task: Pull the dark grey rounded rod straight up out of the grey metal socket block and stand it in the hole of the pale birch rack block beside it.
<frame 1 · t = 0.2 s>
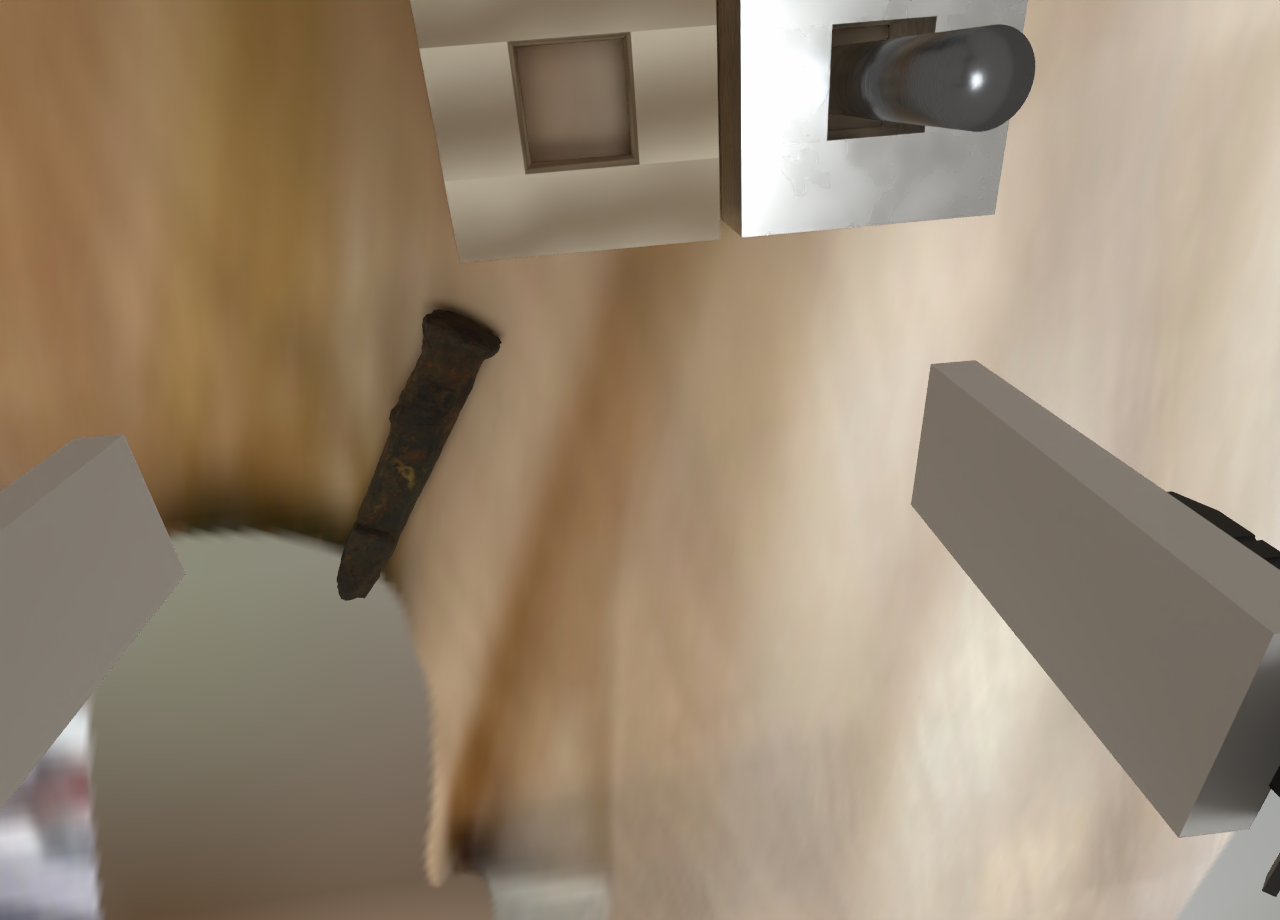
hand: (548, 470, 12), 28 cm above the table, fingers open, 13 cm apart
bit rack: (575, 102, 34), on the table
socket block: (841, 80, 35), on the table
dark grey rounded rod: (841, 80, 35), resting in socket block
hand tool: (420, 454, 43), on the table
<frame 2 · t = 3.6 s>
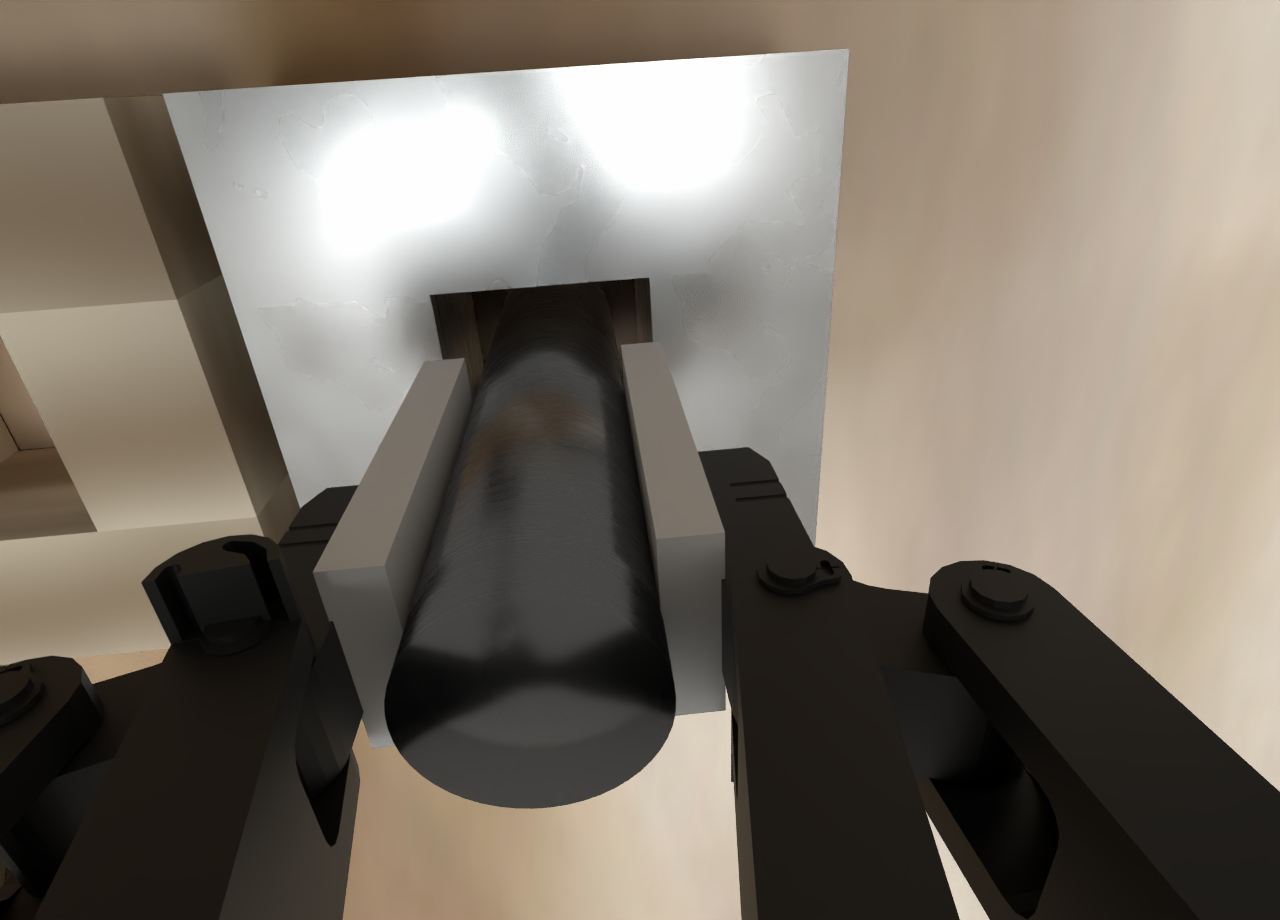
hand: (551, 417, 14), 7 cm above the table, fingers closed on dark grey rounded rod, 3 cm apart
bit rack: (71, 359, 19), on the table
socket block: (557, 319, 20), on the table
dark grey rounded rod: (557, 319, 20), resting in socket block, touching gripper
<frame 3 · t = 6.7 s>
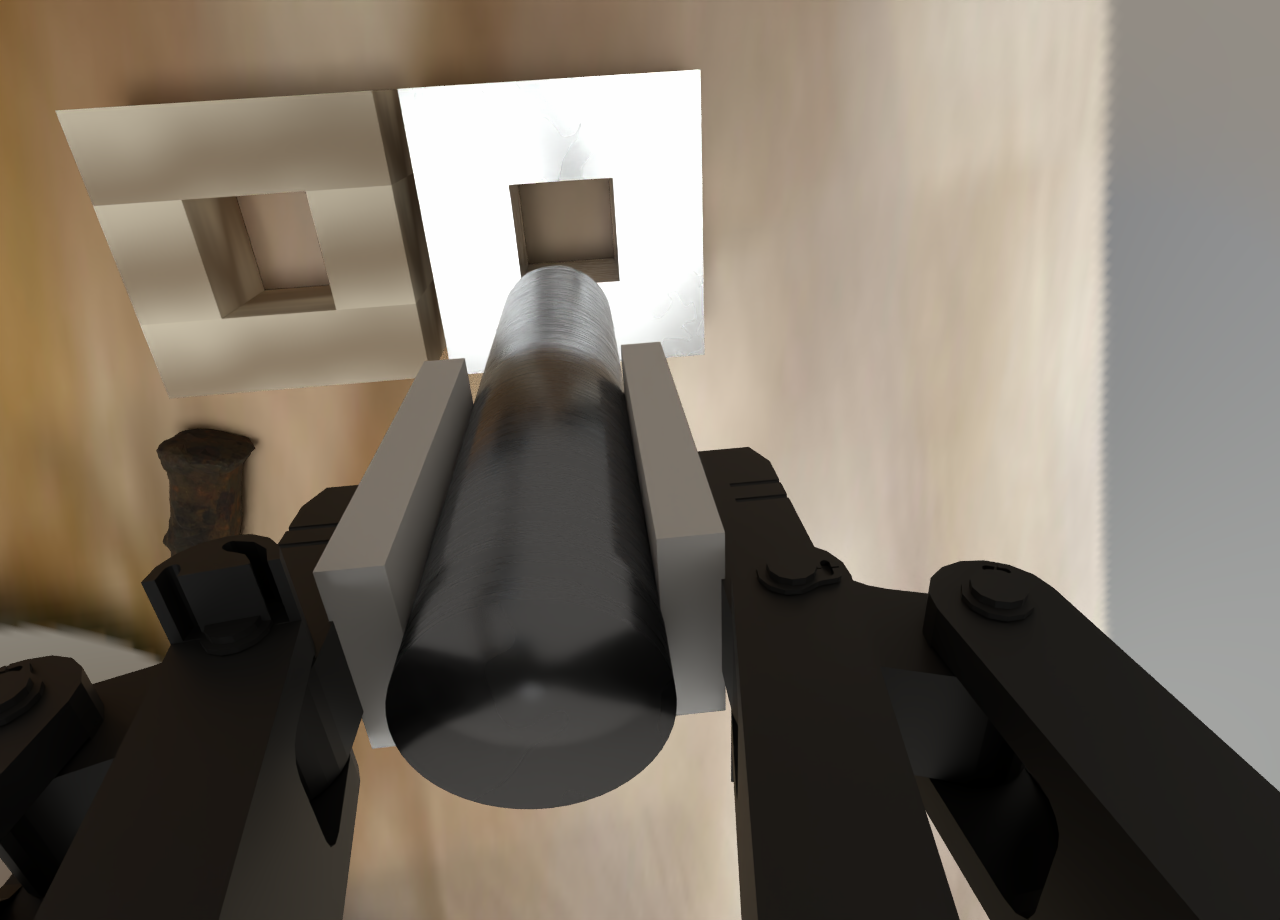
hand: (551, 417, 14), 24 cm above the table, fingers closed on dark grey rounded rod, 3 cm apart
bit rack: (301, 235, 35), on the table
socket block: (567, 216, 36), on the table
dark grey rounded rod: (557, 320, 20), point 18 cm above the table, touching gripper
hand tool: (231, 561, 44), on the table
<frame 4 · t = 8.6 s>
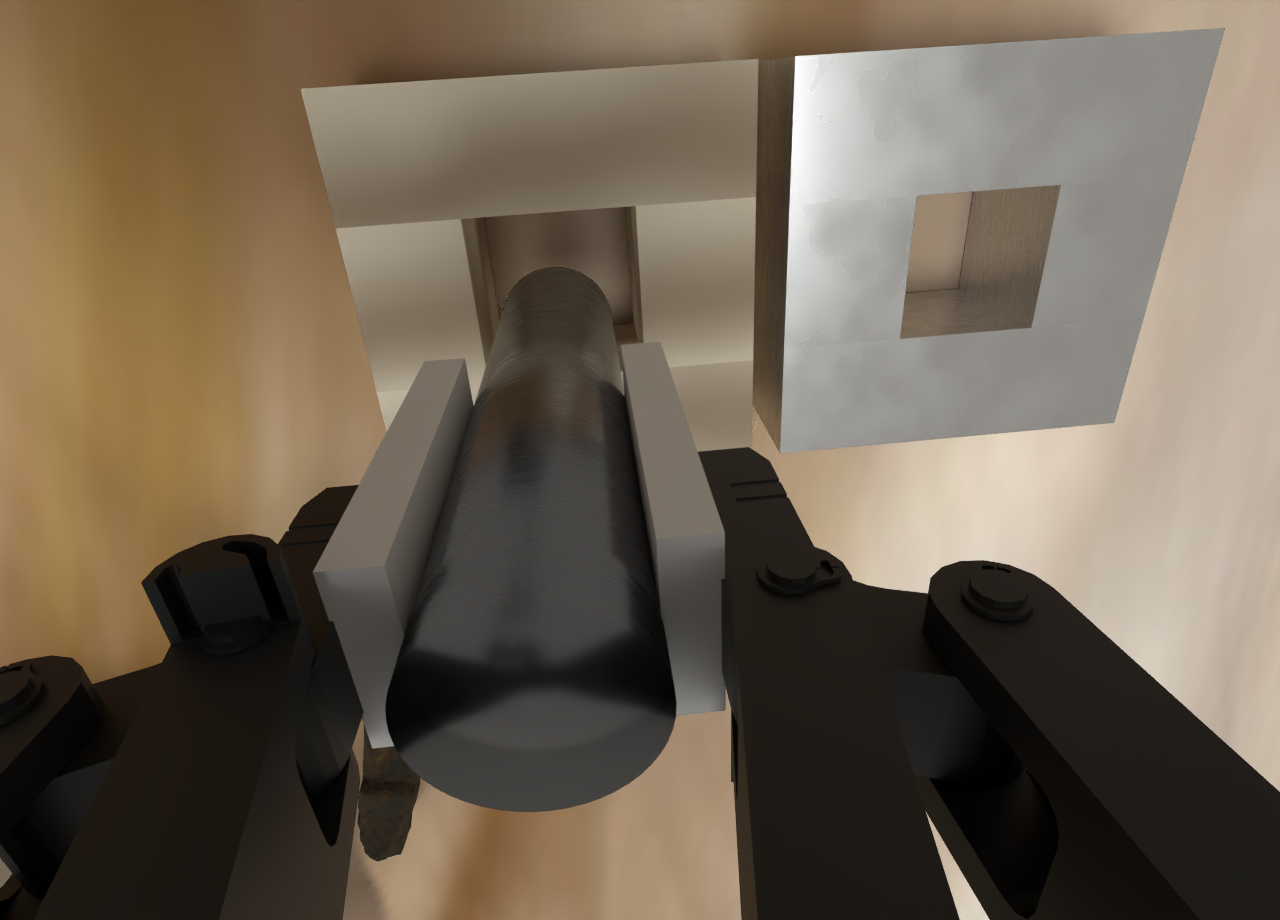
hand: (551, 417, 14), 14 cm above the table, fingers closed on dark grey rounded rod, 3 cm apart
bit rack: (560, 261, 26), on the table
socket block: (910, 234, 27), on the table
dark grey rounded rod: (557, 321, 20), point 7 cm above the table, touching gripper
hand tool: (420, 666, 35), on the table
when the fingers open (8 cm above the table, at t = 10.1 s): dark grey rounded rod drops 2 cm, resting in bit rack.
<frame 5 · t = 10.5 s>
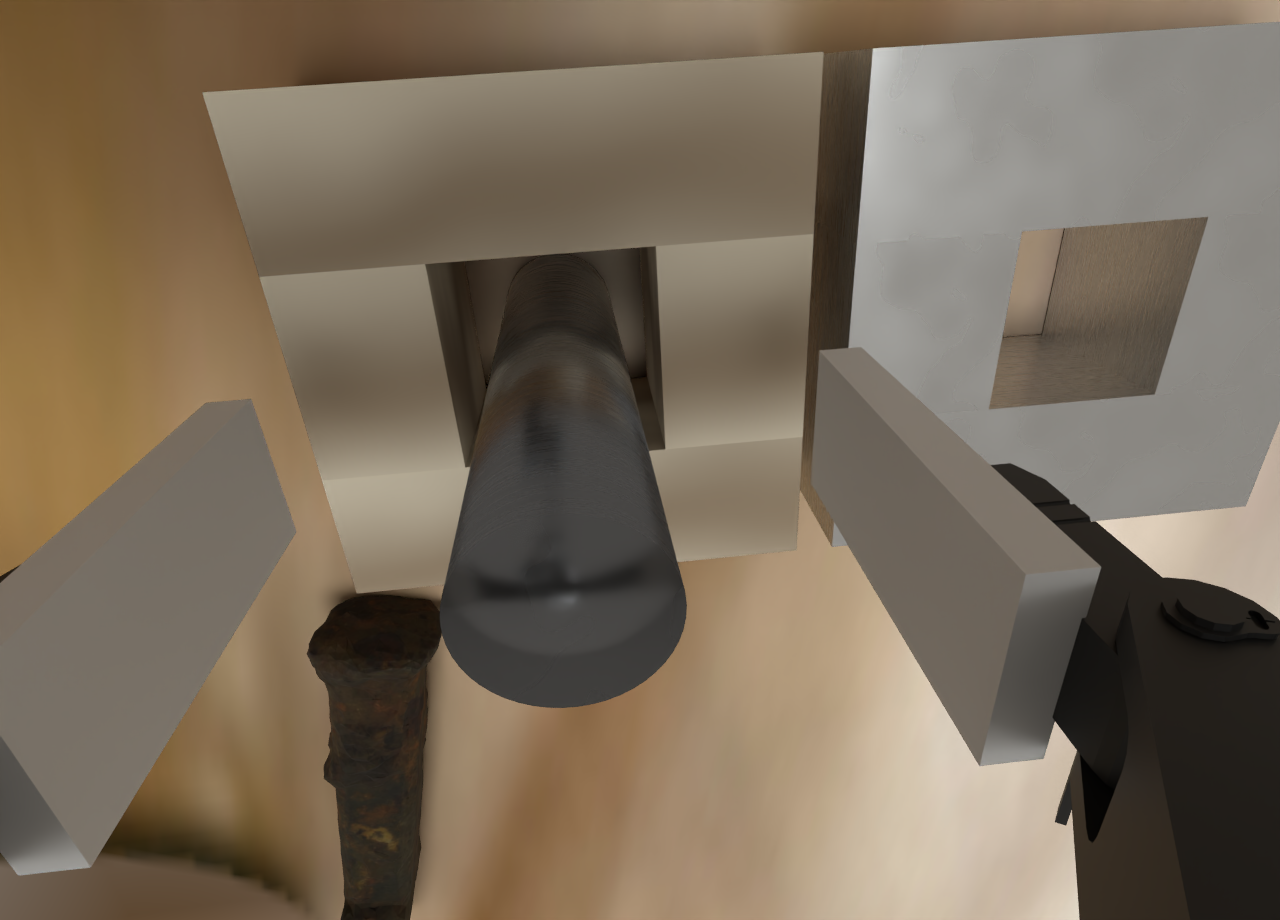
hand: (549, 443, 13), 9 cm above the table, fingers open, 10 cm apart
bit rack: (558, 305, 21), on the table
socket block: (987, 270, 22), on the table
dark grey rounded rod: (559, 305, 21), resting in bit rack
hand tool: (407, 763, 30), on the table
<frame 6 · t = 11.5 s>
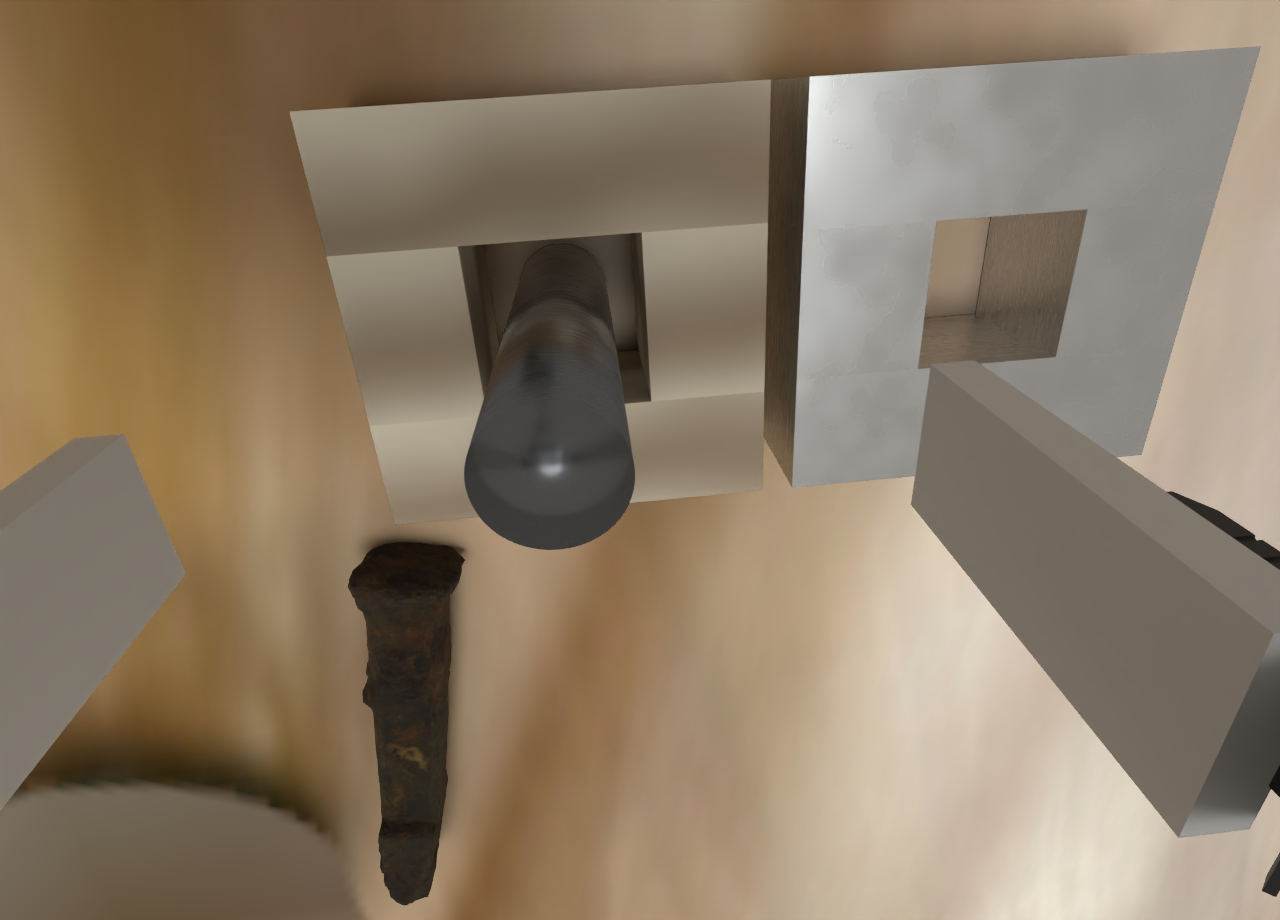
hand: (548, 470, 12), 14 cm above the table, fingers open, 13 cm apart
bit rack: (562, 287, 25), on the table
socket block: (925, 258, 26), on the table
dark grey rounded rod: (563, 287, 25), resting in bit rack
hand tool: (434, 700, 34), on the table
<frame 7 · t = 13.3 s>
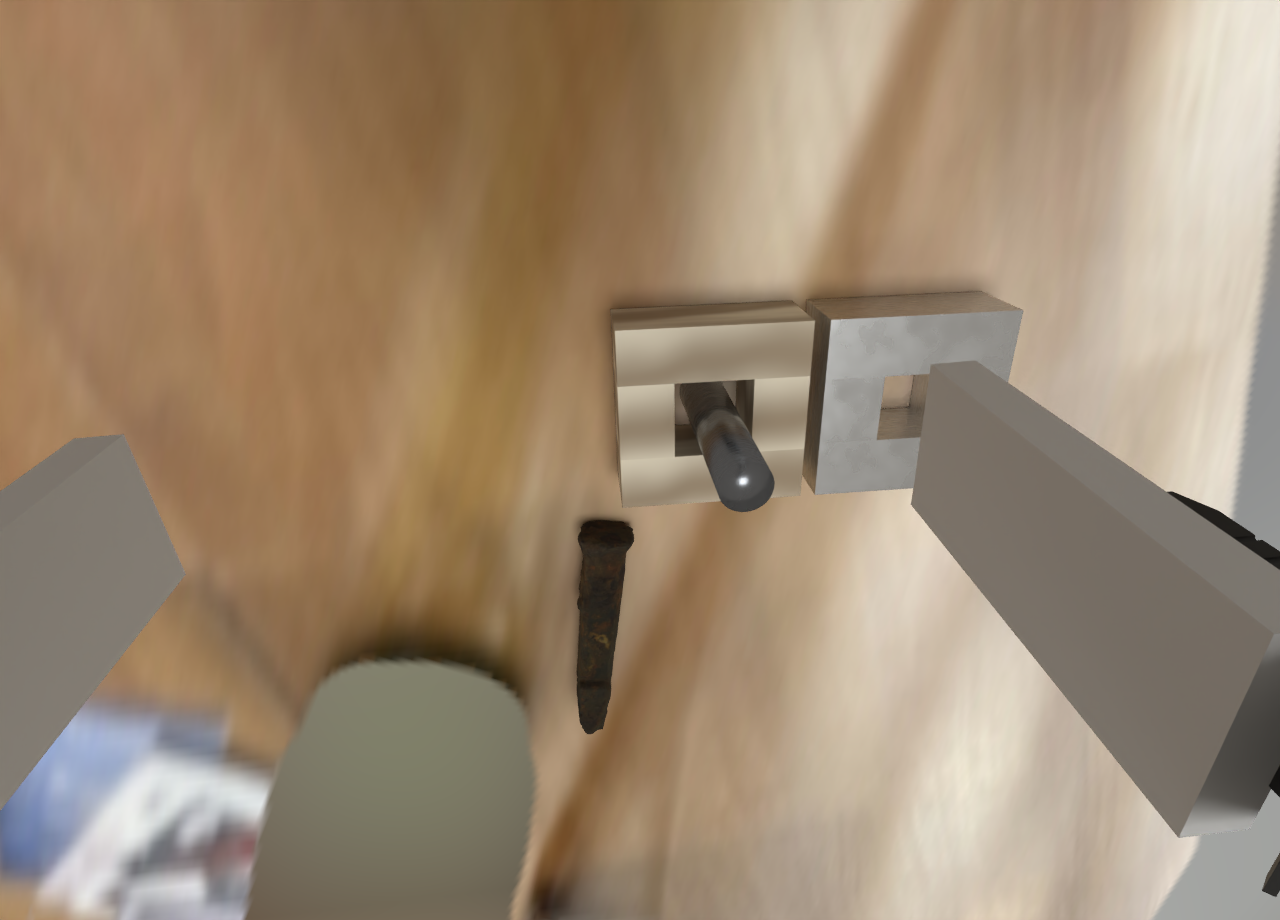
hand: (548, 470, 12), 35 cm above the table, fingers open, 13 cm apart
bit rack: (700, 390, 50), on the table
socket block: (883, 380, 50), on the table
dark grey rounded rod: (701, 390, 50), resting in bit rack
hand tool: (602, 615, 58), on the table
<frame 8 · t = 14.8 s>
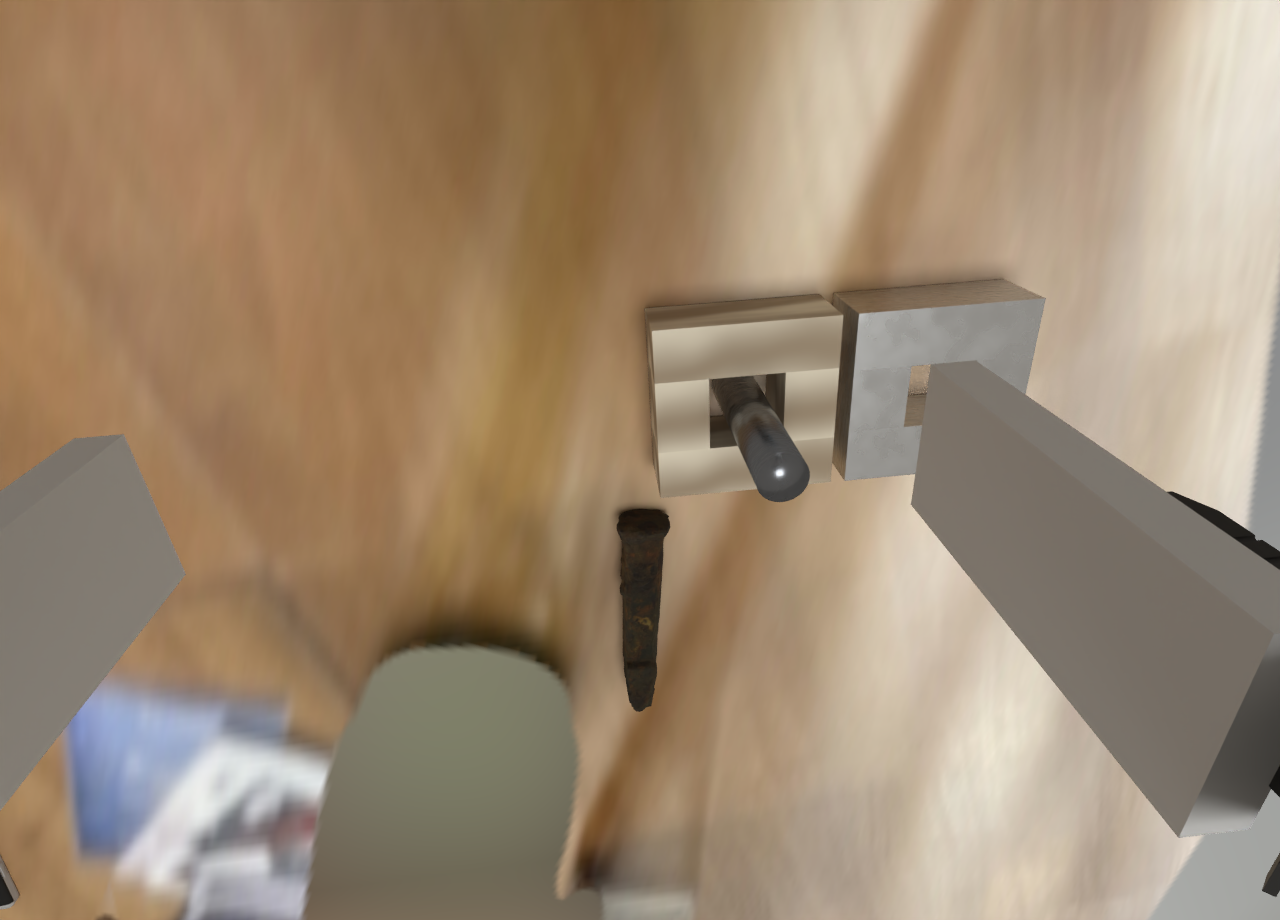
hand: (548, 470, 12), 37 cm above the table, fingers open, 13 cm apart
bit rack: (732, 383, 52), on the table
socket block: (908, 367, 52), on the table
dark grey rounded rod: (732, 383, 52), resting in bit rack
hand tool: (644, 598, 61), on the table
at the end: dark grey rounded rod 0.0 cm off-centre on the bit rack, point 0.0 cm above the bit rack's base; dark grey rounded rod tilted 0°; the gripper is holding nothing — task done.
